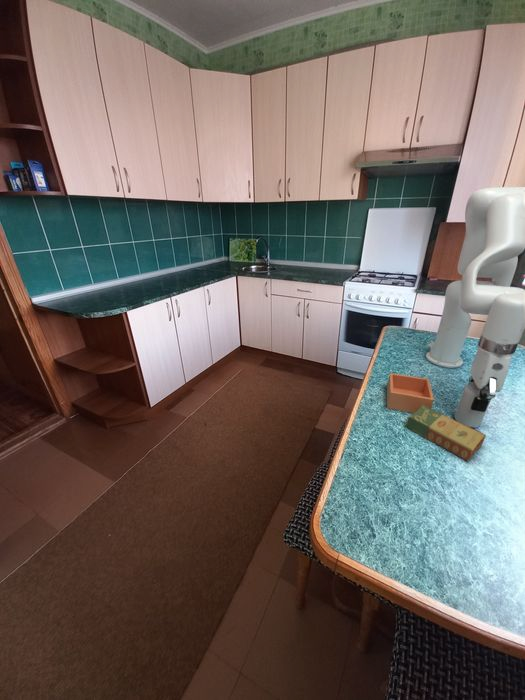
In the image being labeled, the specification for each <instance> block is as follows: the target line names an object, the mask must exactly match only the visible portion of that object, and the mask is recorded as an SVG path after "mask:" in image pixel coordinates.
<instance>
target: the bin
mask: <svg viewBox="0 0 525 700" xmlns="http://www.w3.org/2000/svg"><path fill="white" fill-rule="evenodd" d="M434 402H435V398H434V394H433V390H432V386H431V382H430V378H425V377H419V376H412V375H405V374H400V373H392V372H390V373H389V376H388V379H387V384H386V408H387V409H389V410H394V411H400V412H405V413H410V414H413V413H414V412H416V411H417V410H418V409H419V408H421V407H422V406H423V405H425V406H427V407H429V408H431V409H432V408H433V405H434Z"/></svg>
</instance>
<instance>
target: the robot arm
mask: <svg viewBox="0 0 525 700" xmlns="http://www.w3.org/2000/svg"><path fill="white" fill-rule="evenodd" d="M464 212H465V213H464V222H465V234H464V239H463V243H462V247H461V251H460V254H459V259H458V263H457V273H458V274H459V275H460V276H462V278H461V279H460V280H454V281H452V282H450V283H449V284H447V287H446V289H445V293H444V294H445V295H444V304H443V309H442V314H441V317H440V321H439V325H438V328H437V332H436V335H435V339H434V341H431V342H430V343H428V344H427V347H428V348H429V349H430V350H429V351H427V353H426V355H425V358H426V360H428V362H430V363H431V364H434V365H435V366H438V367H441V368H442V367H443V368H447V369H448V368H450V369H453V368H454V369H456V368H460V367H462V366H463V363H464V360H463V359H462V358H461V354H462V351H463V348H464V344H465V343H466V339H467V338H468V333H469V331H470V328H471V325H472V317H471V314H472V315H482V316H486V320H485V323H484V325H483V328H482V331H481V333H480V336H479V339H478V341H477V345H476V348H477V351H476V353H475V355H474V357H473V360H472V362H471V366H470V369H469V370H470V371H469V372H470V377H468V382H467V384H468V383H469V382H475V384H476V386H477V387H478V393H477V397H475V398H474V400H473V403H472V406H471V410H475V411H480V412H485V411H486V412H487V410H486V408H487V406H488V404H489V405H490V403H489V401H490V402H491V401H492V400H493V399H494V398H495V397H496V394H497V393H500V392H501V391H502V390H503V388H504V387H503V386H504V385H505V382H506V378H507V376H508V374H509V373H508V372H509V370H510V367H511V366H510V365H511V361H512V356H514V354H515V352H516V351H517V348H518V346H519V344H520V341H521V338H522V336H523V334H524V332H525V289H524V288H521V287H516V286H511V285H512V282H513V279H514V276H515V273H516V270H517V266H518V263H519V262H518V260H519V258H518V257H519V255H521V254H522V253H523V252H524V251H525V186H494V187H485V188H480V189H477V190H475V191H473V192H472V193H471V194H470V195H469V197H468V199H467V202H466V206H465V211H464ZM477 278H484V279H486V278H487V279H491V281H483V280H477ZM483 386H488V388H484V387H483ZM482 390H486V391H487V393H486V394H485V393H484V394H482ZM488 407H489V406H488ZM487 409H488V408H487Z"/></svg>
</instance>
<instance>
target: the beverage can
mask: <svg viewBox="0 0 525 700" xmlns="http://www.w3.org/2000/svg"><path fill="white" fill-rule="evenodd" d="M468 382H469V381H468ZM468 382H467V383H466V384H467V385H465V386H464V388H463V390H462V393H461V396H460V399H459V402H458V404H457V407H456V409H455V413H454V417H453V418H454V420H456V421H458V422H460V423H462V424H464V425H466V426H468V427H470V428H472V429H473V428H478V427H480V426H481V425H482V422H483V420H484V417H485V415H486V412H487V410H488V408H489V406H490V403H491V401H489V404H488V406H487V408H486V411H485V412H480V411H475V410H471V406H472V403H473V400H474V398H475V397H477V393H478V387H477V386H476V384H475V382H469V383H468ZM483 387H484V388H488V386H483ZM484 393H485V394H486V393H487V391H486V390H482V394H484Z"/></svg>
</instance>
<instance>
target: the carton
mask: <svg viewBox="0 0 525 700" xmlns="http://www.w3.org/2000/svg"><path fill="white" fill-rule="evenodd" d="M406 428H407V429H409V430H410V431H412V432H414V433H416V434H417V435H419V436H421V437H423V438H424V439H426V440H427V441H430V442H432V443H434V444H436V445H437V446H440V448H441V447H442V448H443V449H445V450H446V451H448V452H450V453H452V454H454V455H456V456H458V457H460V458H461V459H463V460H465V461H467V462H469V461H470V460H471V459H472V458H473V456H474V455H475V454H476V453H477V452H478V451H479V450H480V448H481V447H482V446H483V444H484V441H485V440H486V434H485V433H483V432H481V431H479V430H476V429H475V428H473V427H472V428H471V427H468V426H466V425H464V424H462V423H460V422H458V421H457V420H456V419H455V418H452V417H449V416H448V415H445V414H443V413H441V412H439V411H437V410H435V409H434V408H433V409H432V408H429V407H427V406H425V405H423V406H422V407H421V408H419V409H418V410H417V411H416V412H414V413H411V414H410V415H409V416H408V418H407V421H406Z"/></svg>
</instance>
